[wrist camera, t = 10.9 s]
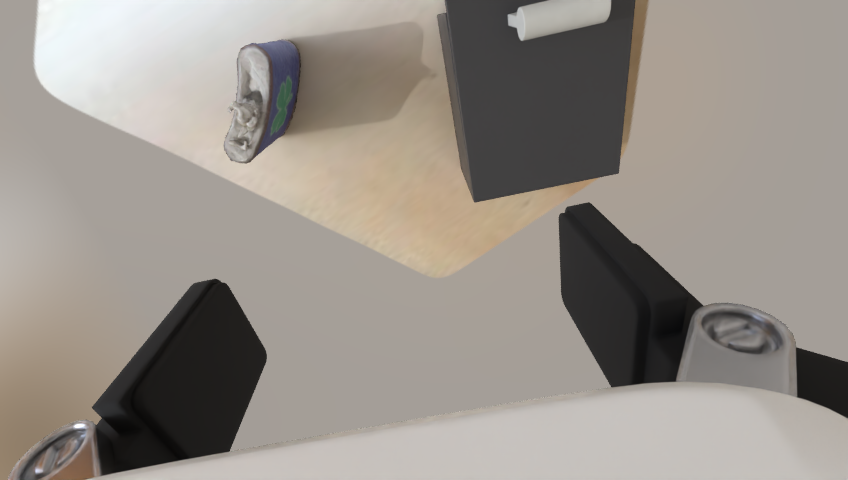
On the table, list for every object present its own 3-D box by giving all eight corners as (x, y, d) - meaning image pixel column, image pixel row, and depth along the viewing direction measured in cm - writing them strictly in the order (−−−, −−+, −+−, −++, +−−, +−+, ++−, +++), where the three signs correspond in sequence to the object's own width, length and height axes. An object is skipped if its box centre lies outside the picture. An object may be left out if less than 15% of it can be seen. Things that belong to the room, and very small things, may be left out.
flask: (275, 34, 34) (227, 40, 24) (308, 48, 34) (274, 58, 25) (258, 132, 38) (211, 168, 29) (287, 142, 39) (251, 181, 29)
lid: (444, -1, 26) (454, 0, 21) (633, -46, 25) (685, -54, 20) (472, 198, 34) (484, 230, 29) (614, 169, 33) (648, 197, 29)
